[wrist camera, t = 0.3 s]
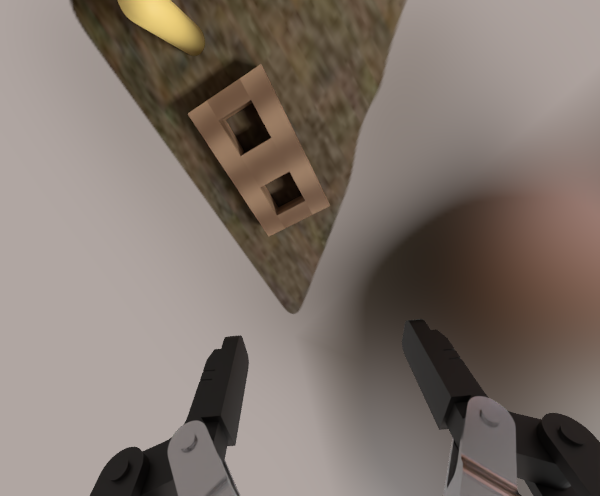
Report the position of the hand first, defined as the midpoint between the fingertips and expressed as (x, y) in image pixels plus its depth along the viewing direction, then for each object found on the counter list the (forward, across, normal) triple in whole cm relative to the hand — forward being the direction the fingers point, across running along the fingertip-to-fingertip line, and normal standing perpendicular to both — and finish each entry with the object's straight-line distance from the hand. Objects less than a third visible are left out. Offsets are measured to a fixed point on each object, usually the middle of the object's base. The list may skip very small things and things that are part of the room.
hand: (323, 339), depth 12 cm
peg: (+28, +11, -18) cm, 35 cm away
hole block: (+28, +4, -4) cm, 28 cm away
